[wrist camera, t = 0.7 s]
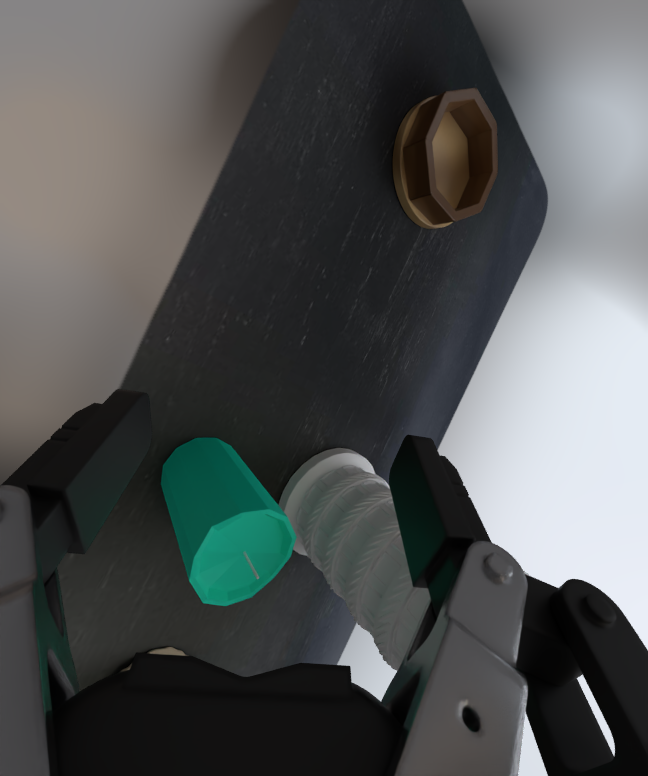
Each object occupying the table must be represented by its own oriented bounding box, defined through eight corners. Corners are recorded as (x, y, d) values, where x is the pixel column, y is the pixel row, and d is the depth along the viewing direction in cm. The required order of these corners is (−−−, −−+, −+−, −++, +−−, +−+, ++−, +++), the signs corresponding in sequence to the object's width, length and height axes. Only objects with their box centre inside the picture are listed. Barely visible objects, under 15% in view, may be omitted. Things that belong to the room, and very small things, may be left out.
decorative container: (359, 428, 35) (540, 531, 20) (376, 507, 40) (532, 635, 25) (261, 487, 30) (407, 675, 16) (295, 568, 35) (429, 769, 21)
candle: (233, 428, 27) (305, 507, 18) (241, 490, 29) (310, 592, 20) (153, 449, 24) (187, 558, 15) (167, 516, 26) (206, 653, 16)
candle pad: (382, 106, 27) (415, 86, 24) (463, 94, 31) (499, 76, 28) (402, 241, 32) (431, 237, 29) (470, 215, 36) (502, 209, 33)
